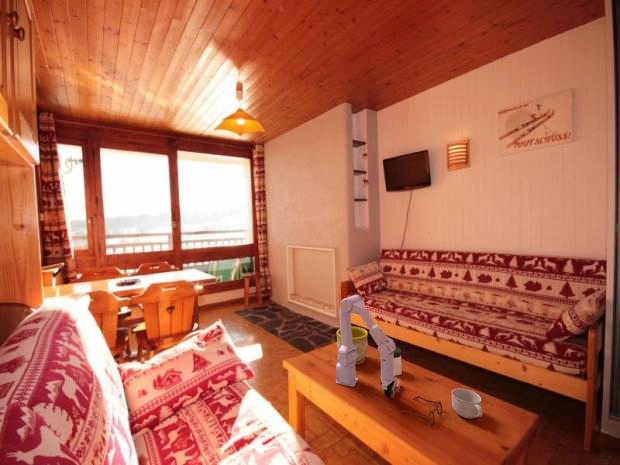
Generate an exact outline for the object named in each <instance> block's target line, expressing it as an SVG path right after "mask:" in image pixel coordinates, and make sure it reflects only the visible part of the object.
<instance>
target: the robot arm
mask: <svg viewBox="0 0 620 465" xmlns="http://www.w3.org/2000/svg"><path fill="white" fill-rule="evenodd" d="M338 312H339V314H338V315H339V326H340V328H339V329H341V342H342V345H341V347H340V349H339V351H338V350H337V351H338V355H337V361H338V362H337V363H336V366H335V383H336V384H340V385H344V386H348V387H352V388H353V387H355V386H356V384H357V382H358V380H359V378H358V377H356V365H355V363H356V360H357V359H358V353H357V351H356V347H355V346H354V345H353V342H352V330H351V327H352V318H351V314H355V315H359V317H360V318H361V319H362V321H363V322H364V323H365V325H366V326H367V327H368V328H369V330H368V334H370V337H372V339H373V341H374V343H376V345H377V346H378V347H377V351H378V353H379V357H380V386H381V389H382V390H383V393H384V396H385V398H387V399H391V398H390V397H391V392H392V387H393V385H394V382H395V381H397V379H398V378H397V376H394V352H393V351H394V350H395V349H396V347H397V346H396V343H395V340H393V339H392V338H390V337H389V336H388V335H387V334H386V333H385V332H384V329H383V328H382V326H380V325H379V324H376V323H375V321H374V319H373V318H372V315H370V313H369V311H368V309H367V307H366V305H365V301H364V300H363V298H362V297H361V295H359V294H354V295H351V296H349V297H348V296H347V297H345V298H343V299H342V300H340V306H339V310H338Z"/></svg>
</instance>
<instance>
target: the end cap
mask: <svg viewBox="0 0 620 465" xmlns="http://www.w3.org/2000/svg"><path fill="white" fill-rule="evenodd" d="M400 388H401V379H399V378H397V383H396V393H397V394H398V393H399V392H400ZM396 393H395V394H396Z"/></svg>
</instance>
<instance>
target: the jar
mask: <svg viewBox="0 0 620 465" xmlns="http://www.w3.org/2000/svg"><path fill="white" fill-rule="evenodd" d="M393 352H394V377H397V376H400V375H402V373H403V372H402V349H401V348H400V347H398V346H396V349H395V350H394V351H393Z"/></svg>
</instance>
